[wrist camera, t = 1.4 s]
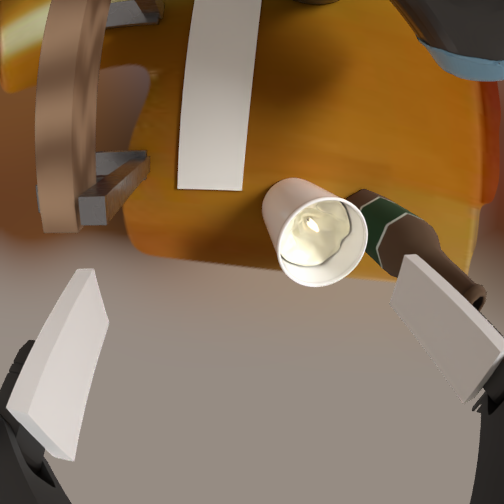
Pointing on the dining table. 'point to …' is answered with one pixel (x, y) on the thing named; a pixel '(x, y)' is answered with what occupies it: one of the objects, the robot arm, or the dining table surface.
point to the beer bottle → (409, 243)
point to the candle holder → (313, 232)
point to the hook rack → (118, 162)
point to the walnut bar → (68, 109)
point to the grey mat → (217, 94)
